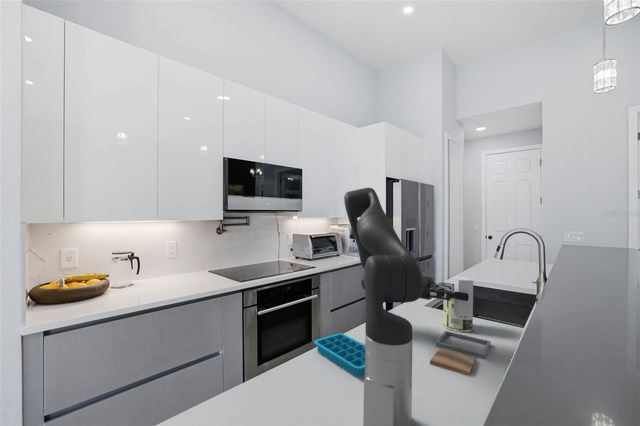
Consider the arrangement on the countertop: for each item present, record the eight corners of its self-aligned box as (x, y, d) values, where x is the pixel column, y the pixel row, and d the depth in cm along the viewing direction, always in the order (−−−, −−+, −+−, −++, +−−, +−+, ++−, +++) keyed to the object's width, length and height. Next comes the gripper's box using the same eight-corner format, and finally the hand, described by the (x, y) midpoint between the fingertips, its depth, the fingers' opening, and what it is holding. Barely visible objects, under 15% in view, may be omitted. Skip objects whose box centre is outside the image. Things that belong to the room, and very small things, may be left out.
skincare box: (473, 320, 88) (473, 280, 88) (457, 319, 89) (458, 279, 89) (467, 314, 94) (468, 276, 94) (453, 313, 95) (453, 276, 95)
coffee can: (467, 323, 115) (467, 286, 115) (477, 333, 104) (477, 293, 105) (439, 321, 116) (440, 285, 116) (446, 331, 106) (447, 292, 106)
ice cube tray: (340, 341, 97) (341, 332, 97) (388, 367, 81) (388, 356, 81) (311, 351, 90) (312, 341, 90) (357, 381, 74) (357, 369, 74)
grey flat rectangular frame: (485, 359, 86) (485, 355, 86) (435, 345, 94) (435, 342, 94) (490, 344, 95) (490, 341, 95) (445, 334, 103) (445, 330, 104)
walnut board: (469, 376, 76) (469, 372, 76) (430, 364, 82) (430, 360, 82) (476, 361, 84) (476, 357, 84) (439, 351, 90) (439, 347, 90)
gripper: (410, 278, 95) (466, 286, 85) (424, 272, 106) (475, 278, 96) (409, 301, 95) (466, 312, 85) (423, 293, 106) (474, 301, 96)
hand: (470, 294), depth 90 cm, fingers closed on skincare box, 7 cm apart
